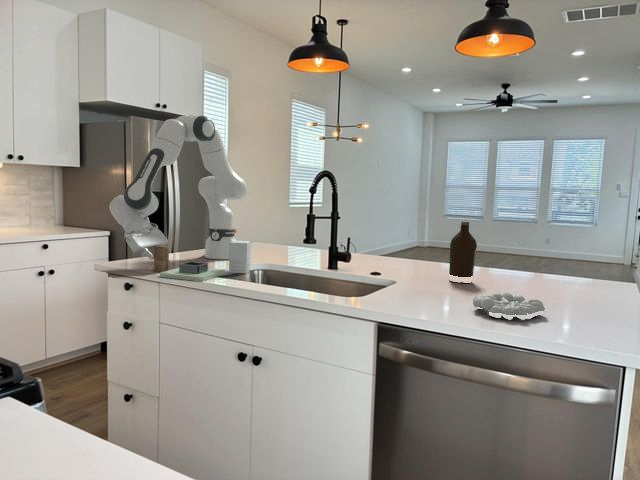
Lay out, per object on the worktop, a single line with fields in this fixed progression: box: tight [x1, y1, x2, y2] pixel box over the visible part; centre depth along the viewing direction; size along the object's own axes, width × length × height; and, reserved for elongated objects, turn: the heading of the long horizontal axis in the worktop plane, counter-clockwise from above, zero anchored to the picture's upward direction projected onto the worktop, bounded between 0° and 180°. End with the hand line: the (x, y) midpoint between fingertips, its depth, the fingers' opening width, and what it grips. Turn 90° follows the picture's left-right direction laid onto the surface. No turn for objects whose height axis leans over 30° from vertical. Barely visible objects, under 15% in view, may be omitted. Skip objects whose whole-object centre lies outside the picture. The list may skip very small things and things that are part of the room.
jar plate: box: [159, 267, 226, 282], centre depth 192 cm, size 18×18×2 cm
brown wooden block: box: [153, 245, 170, 273], centre depth 196 cm, size 4×4×10 cm
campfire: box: [472, 292, 546, 315], centre depth 155 cm, size 22×21×6 cm
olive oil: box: [448, 221, 478, 277], centre depth 205 cm, size 11×11×25 cm
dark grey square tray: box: [178, 261, 209, 274], centre depth 192 cm, size 8×8×3 cm
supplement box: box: [228, 240, 252, 274], centre depth 203 cm, size 7×7×13 cm
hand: (160, 256), depth 196 cm, fingers open, 8 cm apart
